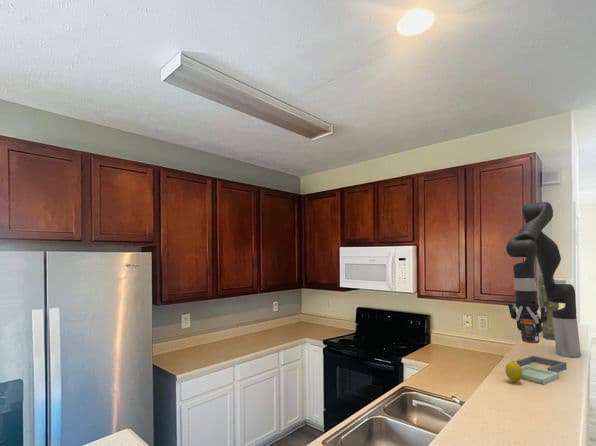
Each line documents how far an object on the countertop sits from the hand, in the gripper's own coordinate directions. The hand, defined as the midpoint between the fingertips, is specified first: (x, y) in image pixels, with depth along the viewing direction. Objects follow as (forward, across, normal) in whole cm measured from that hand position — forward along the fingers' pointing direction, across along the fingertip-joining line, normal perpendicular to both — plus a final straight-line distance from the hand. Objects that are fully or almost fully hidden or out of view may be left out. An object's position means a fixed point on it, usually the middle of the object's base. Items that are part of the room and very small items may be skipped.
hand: (529, 331), depth 137 cm
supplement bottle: (+4, 0, 0) cm, 4 cm away
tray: (+18, 0, 0) cm, 18 cm away
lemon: (+18, +1, +12) cm, 22 cm away
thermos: (+18, +25, -71) cm, 77 cm away
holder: (+18, +4, -14) cm, 23 cm away
